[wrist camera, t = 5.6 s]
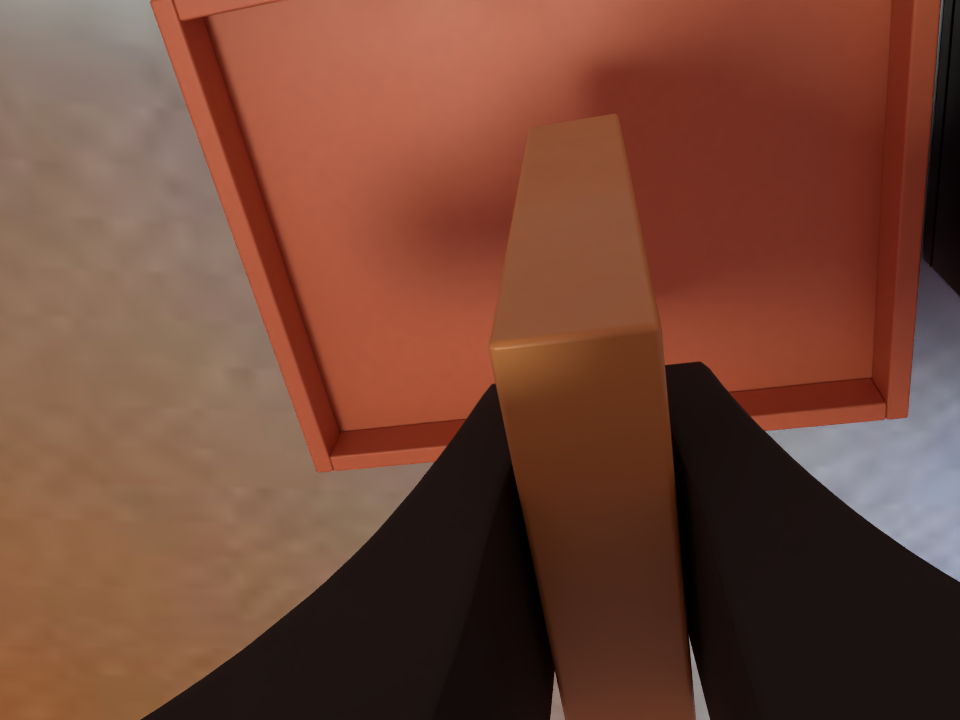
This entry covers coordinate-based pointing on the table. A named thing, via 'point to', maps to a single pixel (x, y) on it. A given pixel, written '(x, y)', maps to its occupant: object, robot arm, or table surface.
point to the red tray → (496, 173)
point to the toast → (593, 428)
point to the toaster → (946, 159)
